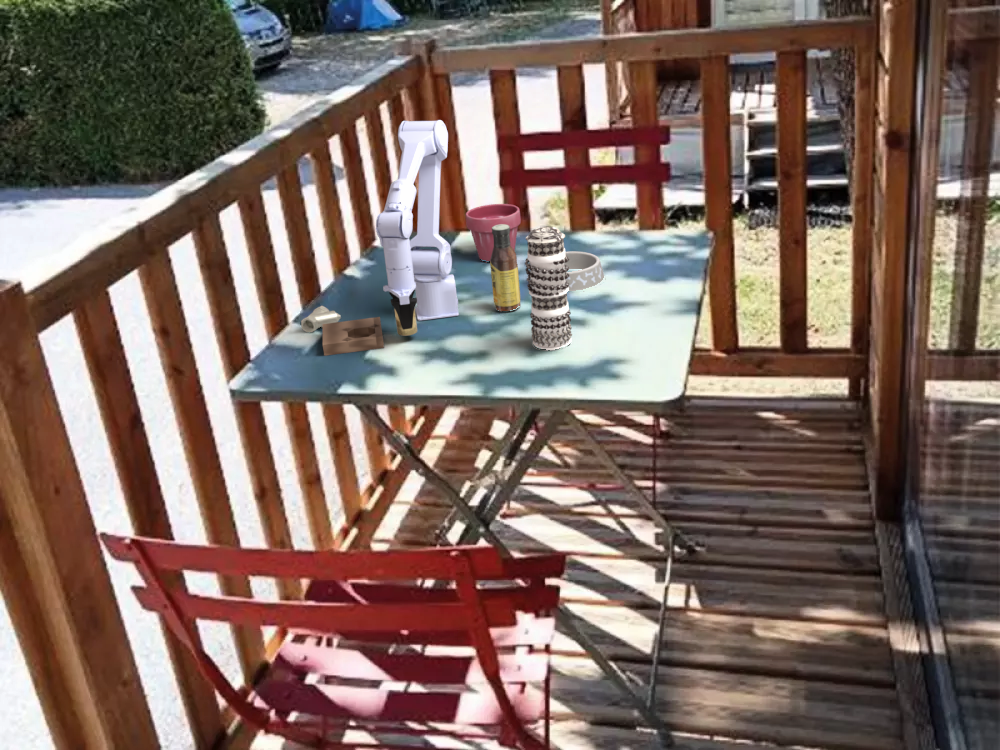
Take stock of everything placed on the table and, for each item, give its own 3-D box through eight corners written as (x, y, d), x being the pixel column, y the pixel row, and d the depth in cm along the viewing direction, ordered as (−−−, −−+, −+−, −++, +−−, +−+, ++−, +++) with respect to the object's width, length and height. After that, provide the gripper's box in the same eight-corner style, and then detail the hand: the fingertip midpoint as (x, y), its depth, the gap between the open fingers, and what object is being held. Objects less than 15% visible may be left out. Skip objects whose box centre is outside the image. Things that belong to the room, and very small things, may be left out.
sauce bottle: (497, 303, 266) (490, 222, 258) (523, 303, 265) (517, 221, 257) (491, 313, 260) (484, 230, 252) (518, 313, 259) (511, 230, 251)
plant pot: (458, 260, 299) (454, 213, 294) (497, 246, 308) (493, 200, 303) (495, 270, 289) (491, 221, 284) (534, 255, 298) (531, 208, 293)
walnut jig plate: (381, 327, 258) (379, 316, 257) (384, 347, 246) (382, 337, 245) (324, 334, 257) (322, 324, 256) (324, 355, 245) (322, 345, 244)
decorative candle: (568, 332, 246) (561, 220, 236) (578, 347, 238) (571, 232, 228) (527, 338, 245) (518, 226, 235) (535, 353, 237) (527, 238, 227)
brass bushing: (416, 327, 252) (413, 301, 249) (418, 334, 248) (415, 308, 245) (396, 329, 251) (393, 304, 249) (398, 336, 247) (394, 310, 245)
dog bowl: (584, 298, 266) (583, 276, 264) (517, 289, 275) (516, 268, 273) (617, 275, 279) (616, 254, 277) (552, 267, 288) (551, 247, 286)
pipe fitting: (343, 323, 265) (316, 320, 266) (342, 307, 263) (315, 304, 265) (328, 336, 258) (301, 332, 259) (327, 320, 256) (300, 317, 258)
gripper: (379, 257, 250) (386, 315, 255) (382, 278, 236) (390, 338, 242) (410, 254, 250) (417, 311, 256) (415, 274, 237) (423, 334, 243)
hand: (406, 324), depth 249 cm, fingers closed on brass bushing, 4 cm apart
